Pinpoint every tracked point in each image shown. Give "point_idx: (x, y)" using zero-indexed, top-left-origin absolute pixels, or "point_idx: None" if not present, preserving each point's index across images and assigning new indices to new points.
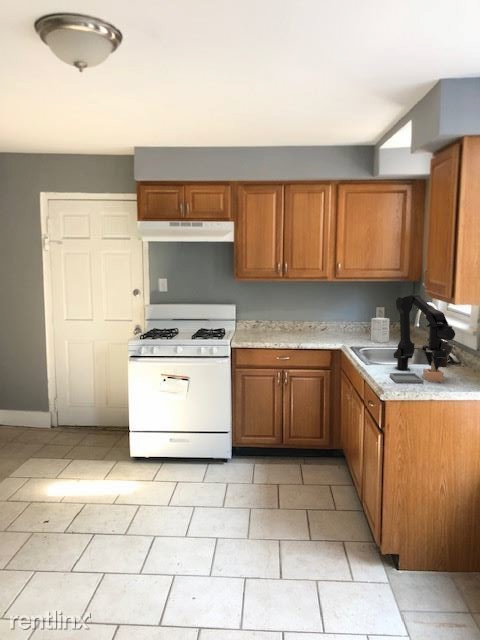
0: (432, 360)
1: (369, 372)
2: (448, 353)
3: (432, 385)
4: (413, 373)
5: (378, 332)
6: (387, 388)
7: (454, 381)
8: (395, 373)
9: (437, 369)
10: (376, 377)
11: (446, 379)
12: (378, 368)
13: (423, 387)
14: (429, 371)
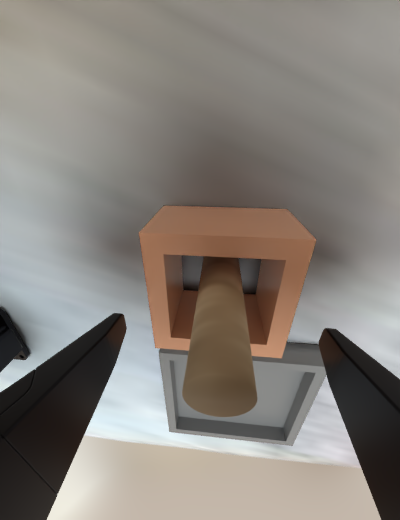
0: (82, 362)
1: (112, 435)
2: None
3: (374, 316)
4: (167, 362)
5: None
6: (353, 458)
7: (307, 88)
8: (175, 419)
9: (337, 335)
10: (187, 440)
11: (221, 148)
12: None
13: (395, 367)
14: (173, 302)
